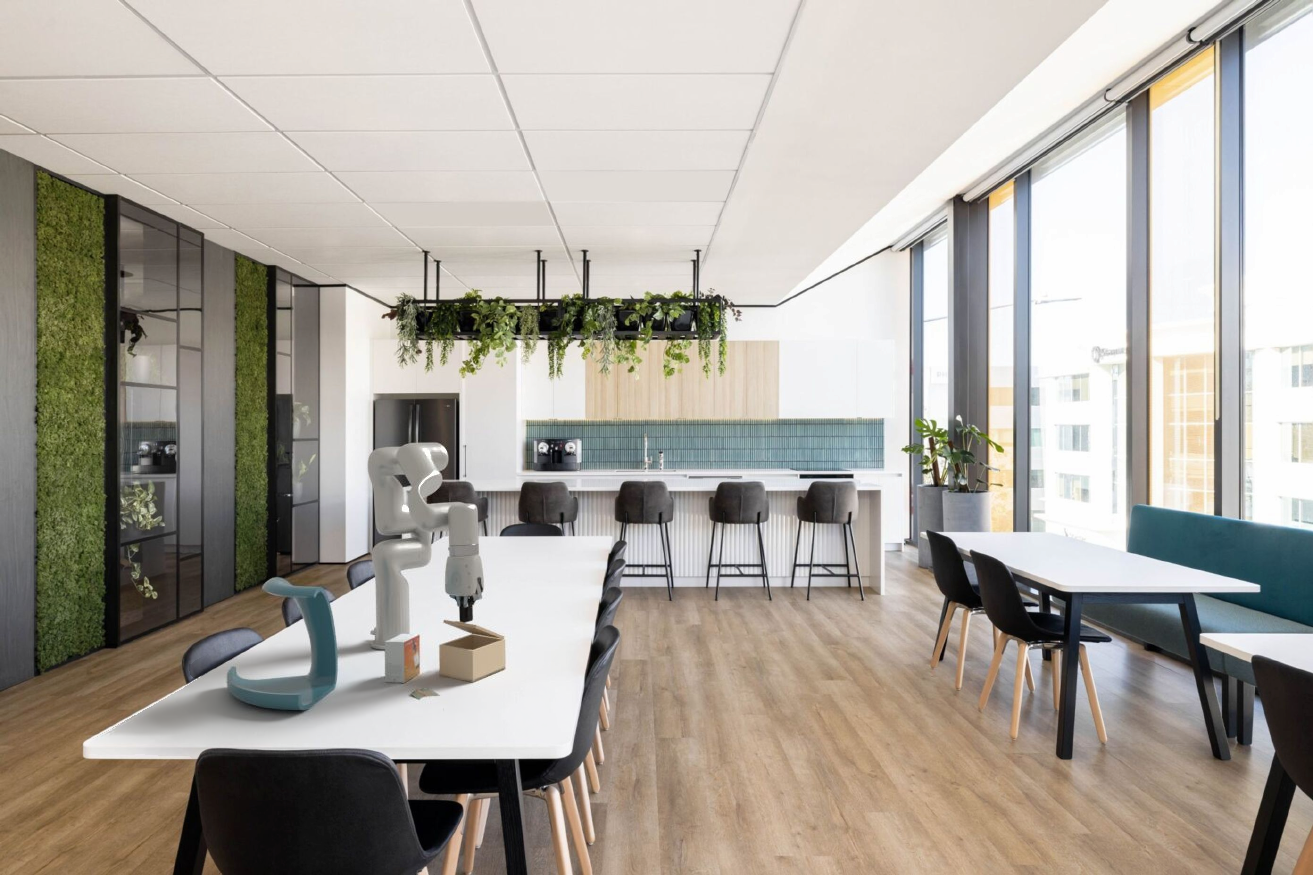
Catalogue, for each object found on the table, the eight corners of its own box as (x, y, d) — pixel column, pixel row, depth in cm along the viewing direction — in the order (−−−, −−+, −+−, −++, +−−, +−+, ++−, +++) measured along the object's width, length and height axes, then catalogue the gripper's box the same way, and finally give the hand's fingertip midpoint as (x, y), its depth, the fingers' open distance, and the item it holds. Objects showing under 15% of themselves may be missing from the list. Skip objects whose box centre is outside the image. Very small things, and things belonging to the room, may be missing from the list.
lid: (441, 621, 190) (442, 618, 190) (472, 633, 199) (473, 630, 199) (474, 627, 184) (475, 624, 184) (503, 639, 193) (504, 636, 194)
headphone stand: (297, 716, 162) (304, 592, 163) (174, 713, 162) (182, 588, 164) (349, 684, 188) (354, 577, 189) (242, 680, 188) (249, 574, 190)
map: (426, 689, 179) (426, 685, 179) (470, 711, 165) (470, 706, 165) (407, 695, 176) (407, 691, 176) (450, 717, 161) (450, 713, 161)
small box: (404, 683, 183) (403, 642, 183) (384, 682, 184) (383, 641, 184) (420, 673, 191) (420, 633, 191) (401, 672, 192) (401, 632, 192)
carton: (439, 675, 189) (439, 644, 189) (472, 662, 199) (472, 633, 199) (473, 682, 183) (472, 651, 183) (505, 669, 193) (505, 639, 193)
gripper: (433, 551, 189) (435, 622, 189) (474, 553, 182) (476, 627, 181) (454, 548, 196) (456, 616, 195) (495, 550, 188) (497, 620, 188)
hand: (466, 621), depth 188 cm, fingers closed
